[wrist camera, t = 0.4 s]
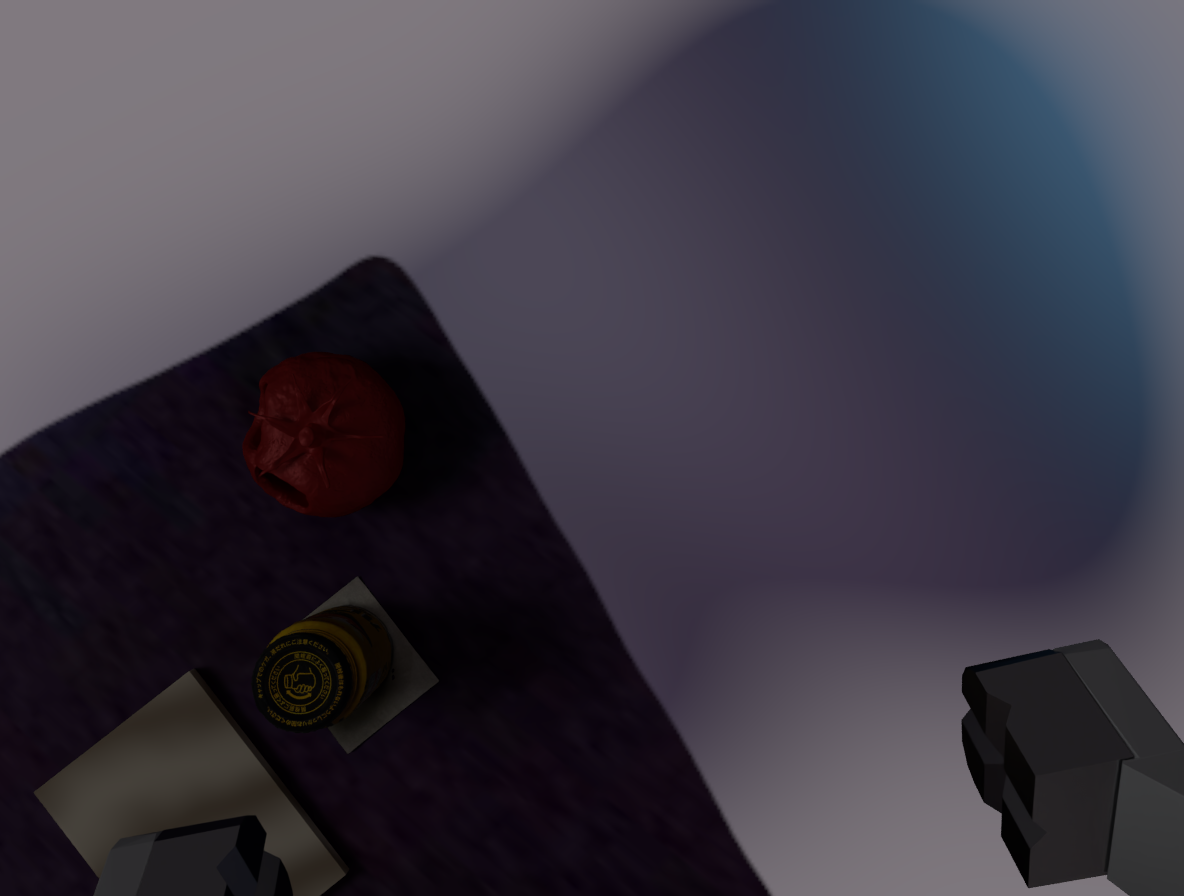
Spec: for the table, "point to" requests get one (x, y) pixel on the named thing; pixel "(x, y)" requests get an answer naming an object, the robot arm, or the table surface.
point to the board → (184, 786)
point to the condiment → (340, 670)
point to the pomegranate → (325, 435)
